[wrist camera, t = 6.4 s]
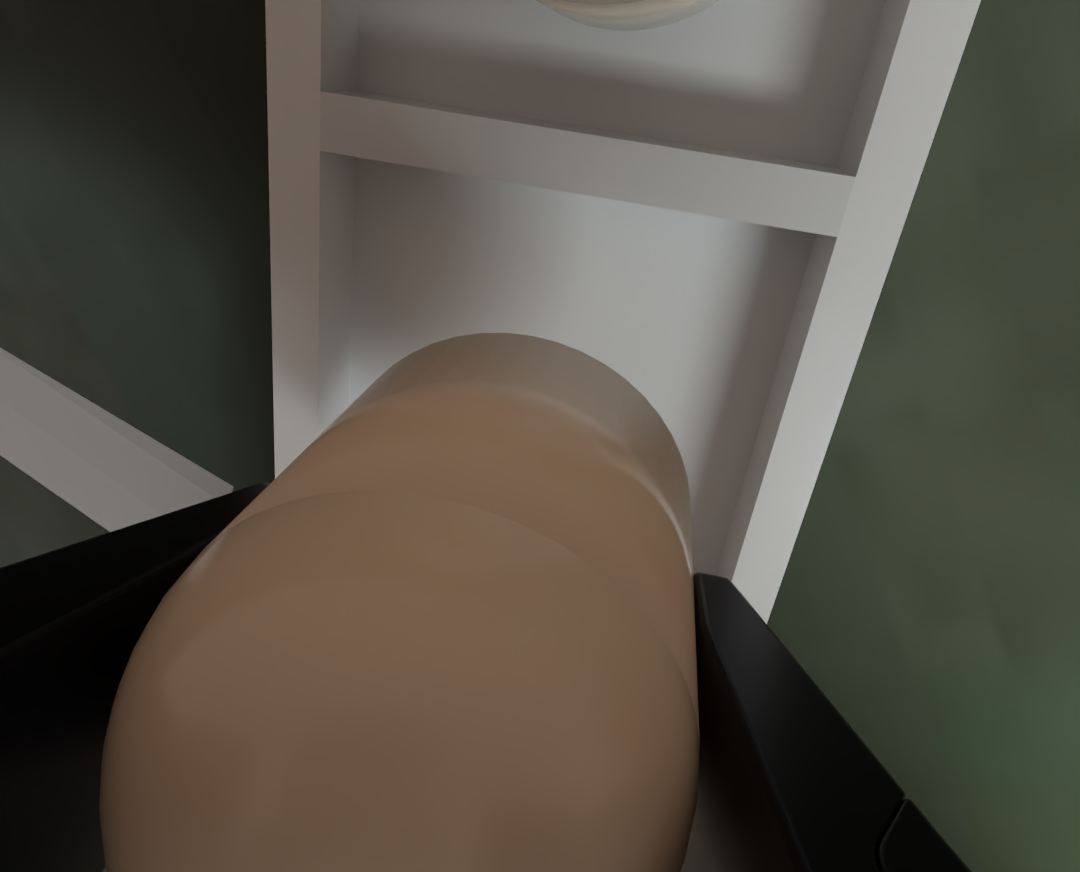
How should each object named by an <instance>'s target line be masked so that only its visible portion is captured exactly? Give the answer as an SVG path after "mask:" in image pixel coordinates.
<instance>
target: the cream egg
mask: <svg viewBox="0 0 1080 872" xmlns="http://www.w3.org/2000/svg"><path fill="white" fill-rule="evenodd" d="M536 1H538V2H540V3H541V4H543V5H544V6H546V7H548V8H550V9H551V10H553V11H555V12H557V13H558V14H560V15H562V16H564V17H566V18H568V19H571V20H574V21H576V22H579V23H581V24H584V25H588V26H592V27H597V28H601V29H606V30H620V31H633V30H646V29H652V28H657V27H661V26H666V25H670V24H673V23H675V22H678V21H681V20H683V19H686V18H689V17H691V16H693V15H695V14H697V13H699V12H701V11H703V10H705V9H706V8H708V7H710V6H712V5H714V4H715V3H716V2H718V1H719V0H536Z"/></svg>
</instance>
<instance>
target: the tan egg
mask: <svg viewBox="0 0 1080 872" xmlns="http://www.w3.org/2000/svg"><path fill="white" fill-rule="evenodd" d="M699 749H700V735H699V710H698V684H697V658H696V633H695V607H694V581H693V556H692V530H691V504H690V493H689V485H688V478H687V474H686V470H685V467H684V463H683V460H682V456H681V454H680V452H679V449H678V447H677V445H676V443H675V440H674V438H673V436H672V434H671V432H670V431H669V429H668V428H667V426H666V424H665V423H664V421H663V420H662V418H661V416H660V415H659V414H658V412H657V411H656V410H655V409H654V408H653V406H652V405H651V404H650V403H649V402H648V400H647V399H646V398H645V397H644V396H643V395H642V394H641V393H640V392H639V391H638V390H637V389H636V388H635V387H634V386H633V385H632V384H630V383H629V382H628V381H627V380H626V379H625V378H624V377H622V376H621V375H619V374H618V373H617V372H615V371H614V370H612V369H611V368H610V367H608V366H607V365H605V364H604V363H602V362H600V361H598V360H596V359H595V358H593V357H591V356H589V355H587V354H585V353H583V352H582V351H579V350H577V349H574V348H571V347H569V346H566V345H564V344H561V343H558V342H555V341H551V340H547V339H543V338H539V337H535V336H530V335H522V334H513V333H477V334H470V335H463V336H456V337H453V338H449V339H446V340H442V341H439V342H435V343H433V344H430V345H428V346H426V347H424V348H421V349H419V350H417V351H415V352H412V353H411V354H409V355H408V356H406V357H404V358H403V359H401V360H400V361H398V362H397V363H395V364H393V365H392V366H391V367H390V368H389V369H388V370H387V371H385V372H384V373H383V374H382V375H381V376H380V377H378V378H377V379H376V380H375V381H374V382H373V383H372V384H371V385H370V386H369V387H368V388H367V389H366V390H365V391H364V392H363V393H362V394H361V395H360V396H359V397H358V398H357V399H356V400H355V401H354V402H353V403H352V404H351V405H350V406H349V407H348V408H347V409H346V410H345V411H344V412H343V413H342V414H341V415H340V416H339V417H338V418H337V419H336V420H335V421H334V422H333V423H332V424H331V425H329V426H328V427H327V428H326V429H325V430H324V431H323V432H322V433H321V434H320V435H319V436H318V437H317V438H316V439H315V440H314V441H313V442H312V443H311V444H310V445H309V446H308V447H307V448H306V449H305V450H304V451H303V452H302V453H301V454H300V455H299V456H298V457H297V458H296V459H295V460H294V461H293V462H292V463H291V464H290V465H289V466H288V467H287V468H286V469H285V470H284V471H283V472H282V473H281V474H280V475H279V476H278V477H277V478H276V479H275V480H274V481H273V482H272V483H271V484H270V485H269V486H268V487H266V488H265V489H264V490H263V491H262V492H261V493H260V494H259V495H258V496H257V497H256V498H255V499H254V500H253V501H252V502H251V503H250V504H249V505H248V506H247V507H246V508H245V509H244V510H243V511H242V512H241V513H240V514H239V515H238V516H237V517H236V518H235V519H234V520H233V521H232V522H231V523H230V524H229V525H228V526H227V527H226V528H225V529H224V530H223V531H222V532H221V533H220V534H219V535H218V536H217V537H216V538H215V539H214V540H213V541H212V542H211V543H210V544H209V545H208V546H207V547H206V548H205V549H203V551H202V552H201V553H200V554H199V555H198V556H197V558H196V559H195V560H194V561H193V562H192V563H191V565H190V566H189V567H188V568H187V569H186V570H185V572H184V573H183V574H182V575H181V576H180V578H179V579H178V580H177V581H176V582H175V584H174V585H173V586H172V587H171V588H170V590H169V591H168V592H167V593H166V594H165V596H164V597H163V599H162V600H161V602H160V604H159V605H158V607H157V609H156V610H155V612H154V614H153V615H152V617H151V619H150V620H149V622H148V623H147V625H146V627H145V629H144V631H143V632H142V634H141V636H140V638H139V640H138V642H137V643H136V645H135V647H134V649H133V651H132V654H131V656H130V659H129V661H128V664H127V666H126V668H125V671H124V673H123V676H122V678H121V681H120V683H119V686H118V690H117V693H116V696H115V699H114V703H113V706H112V710H111V714H110V718H109V723H108V727H107V732H106V736H105V741H104V746H103V756H102V766H101V781H100V800H99V811H100V822H101V832H102V840H103V849H104V857H105V865H106V870H107V872H680V871H681V868H682V866H683V863H684V860H685V855H686V851H687V847H688V842H689V838H690V834H691V829H692V824H693V819H694V815H695V810H696V805H697V796H698V774H699Z"/></svg>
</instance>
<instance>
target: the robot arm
mask: <svg viewBox="0 0 1080 872" xmlns="http://www.w3.org/2000/svg"><path fill="white" fill-rule="evenodd" d="M269 485H270V483H259V484H256V485H253V486H250V487H247V488H244V489H241V490H238V491H235V492H232V493H229V494H226V495H223V496H219V497H216V498H213V499H210V500H207V501H204V502H201V503H198V504H195V505H192V506H189V507H186V508H183V509H180V510H177V511H173V512H170V513H167V514H164V515H161V516H158V517H155V518H152V519H149V520H146V521H143V522H140V523H137V524H134V525H131V526H127V527H124V528H121V529H118V530H115V531H112V532H109V533H106V534H103V535H100V536H97V537H94V538H91V539H88V540H84V541H81V542H78V543H75V544H72V545H69V546H66V547H63V548H60V549H57V550H54V551H51V552H48V553H45V554H42V555H38V556H35V557H32V558H29V559H26V560H23V561H20V562H17V563H14V564H11V565H8V566H5V567H2V568H0V872H103V870H104V869H105V867H106V865H105V857H104V849H103V840H102V832H101V822H100V811H99V800H100V781H101V766H102V756H103V746H104V741H105V736H106V732H107V727H108V723H109V718H110V714H111V710H112V706H113V703H114V699H115V696H116V693H117V690H118V686H119V683H120V681H121V678H122V676H123V673H124V671H125V668H126V666H127V664H128V661H129V659H130V656H131V654H132V651H133V649H134V647H135V645H136V643H137V642H138V640H139V638H140V636H141V634H142V632H143V631H144V629H145V627H146V625H147V623H148V622H149V620H150V619H151V617H152V615H153V614H154V612H155V610H156V609H157V607H158V605H159V604H160V602H161V600H162V599H163V597H164V596H165V594H166V593H167V592H168V591H169V590H170V588H171V587H172V586H173V585H174V584H175V582H176V581H177V580H178V579H179V578H180V576H181V575H182V574H183V573H184V572H185V570H186V569H187V568H188V567H189V566H190V565H191V563H192V562H193V561H194V560H195V559H196V558H197V556H198V555H199V554H200V553H201V552H202V551H203V549H205V548H206V547H207V546H208V545H209V544H210V543H211V542H212V541H213V540H214V539H215V538H216V537H217V536H218V535H219V534H220V533H221V532H222V531H223V530H224V529H225V528H226V527H227V526H228V525H229V524H230V523H231V522H232V521H233V520H234V519H235V518H236V517H237V516H238V515H239V514H240V513H241V512H242V511H243V510H244V509H245V508H246V507H247V506H248V505H249V504H250V503H251V502H252V501H253V500H254V499H255V498H256V497H257V496H258V495H259V494H260V493H261V492H262V491H263V490H264V489H265V488H266V487H268V486H269ZM693 581H694V607H695V633H696V658H697V684H698V710H699V735H700V749H699V774H698V796H697V805H696V810H695V815H694V819H693V824H692V829H691V834H690V838H689V842H688V847H687V851H686V855H685V860H684V863H683V866H682V868H681V871H680V872H971V870H970V869H969V868H968V867H967V866H966V865H965V863H964V862H963V861H962V860H961V859H960V858H959V856H958V855H957V854H956V853H955V852H954V851H953V849H952V848H951V847H950V846H949V845H948V844H947V842H946V841H945V840H944V839H943V838H942V837H941V835H940V834H939V833H938V832H937V831H936V830H935V828H934V827H933V826H932V825H931V823H930V822H929V821H928V820H927V819H926V817H925V816H924V815H923V814H922V812H921V811H920V810H919V809H918V808H917V806H916V805H915V804H914V803H913V802H912V801H911V800H910V799H905V792H904V791H903V790H902V789H901V787H900V786H899V785H898V784H897V782H896V781H895V780H894V779H893V778H892V776H891V775H890V774H889V773H888V771H887V770H886V769H885V768H884V767H883V765H882V764H881V763H880V762H879V761H878V759H877V758H876V757H875V756H874V754H873V753H872V752H871V751H870V750H869V748H868V747H867V746H866V745H865V743H864V742H863V741H862V740H861V739H860V737H859V736H858V735H857V734H856V733H855V731H854V730H853V729H852V728H851V726H850V725H849V724H848V723H847V722H846V720H845V719H844V718H843V717H842V715H841V714H840V713H839V712H838V711H837V709H836V708H835V707H834V706H833V704H832V703H831V702H830V701H829V700H828V698H827V697H826V696H825V695H824V694H823V692H822V691H821V690H820V689H819V687H818V686H817V685H816V684H815V683H814V681H813V680H812V679H811V678H810V676H809V675H808V674H807V673H806V672H805V670H804V669H803V668H802V667H801V666H800V664H799V663H798V662H797V661H796V659H795V658H794V657H793V656H792V655H791V653H790V652H789V651H788V650H787V648H786V647H785V646H784V645H783V644H782V642H781V641H780V640H779V639H778V637H777V636H776V635H775V634H774V633H773V631H772V630H771V629H770V628H769V627H768V625H767V624H766V623H765V622H764V620H763V619H762V618H761V617H760V616H759V614H758V613H757V612H756V611H755V609H754V608H753V607H752V606H751V605H750V603H749V602H748V601H747V600H746V598H745V597H744V596H743V595H742V594H741V592H740V591H739V590H738V589H737V588H736V586H735V585H734V584H733V583H732V582H731V581H730V580H729V579H728V578H725V577H720V576H715V575H710V574H705V573H700V572H697V573H695V574H694V575H693ZM904 799H905V800H904Z"/></svg>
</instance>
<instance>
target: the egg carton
mask: <svg viewBox="0 0 1080 872" xmlns="http://www.w3.org/2000/svg"><path fill="white" fill-rule="evenodd" d="M980 2H981V0H719V1H718V2H716V3H715V4H714V5H712V6H710V7H708V8H706V9H705V10H703V11H701V12H699V13H697V14H695V15H693V16H691V17H689V18H686V19H683V20H681V21H678V22H675V23H673V24H670V25H666V26H661V27H657V28H652V29H646V30H633V31H620V30H606V29H601V28H597V27H592V26H588V25H584V24H581V23H579V22H576V21H574V20H571V19H568V18H566V17H564V16H562V15H560V14H558V13H557V12H555V11H553V10H551V9H550V8H548V7H546V6H544V5H543V4H541V3H540V2H538V1H536V0H265V11H266V60H267V109H268V159H269V208H270V257H271V307H272V356H273V405H274V455H275V479H276V478H277V477H278V476H279V475H280V474H281V473H282V472H283V471H284V470H285V469H286V468H287V467H288V466H289V465H290V464H291V463H292V462H293V461H294V460H295V459H296V458H297V457H298V456H299V455H300V454H301V453H302V452H303V451H304V450H305V449H306V448H307V447H308V446H309V445H310V444H311V443H312V442H313V441H314V440H315V439H316V438H317V437H318V436H319V435H320V434H321V433H322V432H323V431H324V430H325V429H326V428H327V427H328V426H329V425H331V424H332V423H333V422H334V421H335V420H336V419H337V418H338V417H339V416H340V415H341V414H342V413H343V412H344V411H345V410H346V409H347V408H348V407H349V406H350V405H351V404H352V403H353V402H354V401H355V400H356V399H357V398H358V397H359V396H360V395H361V394H362V393H363V392H364V391H365V390H366V389H367V388H368V387H369V386H370V385H371V384H372V383H373V382H374V381H375V380H376V379H377V378H378V377H380V376H381V375H382V374H383V373H384V372H385V371H387V370H388V369H389V368H390V367H391V366H392V365H393V364H395V363H397V362H398V361H400V360H401V359H403V358H404V357H406V356H408V355H409V354H411V353H412V352H415V351H417V350H419V349H421V348H424V347H426V346H428V345H430V344H433V343H435V342H439V341H442V340H446V339H449V338H453V337H456V336H463V335H470V334H477V333H513V334H522V335H530V336H535V337H539V338H543V339H547V340H551V341H555V342H558V343H561V344H564V345H566V346H569V347H571V348H574V349H577V350H579V351H582V352H583V353H585V354H587V355H589V356H591V357H593V358H595V359H596V360H598V361H600V362H602V363H604V364H605V365H607V366H608V367H610V368H611V369H612V370H614V371H615V372H617V373H618V374H619V375H621V376H622V377H624V378H625V379H626V380H627V381H628V382H629V383H630V384H632V385H633V386H634V387H635V388H636V389H637V390H638V391H639V392H640V393H641V394H642V395H643V396H644V397H645V398H646V399H647V400H648V402H649V403H650V404H651V405H652V406H653V408H654V409H655V410H656V411H657V412H658V414H659V415H660V416H661V418H662V420H663V421H664V423H665V424H666V426H667V428H668V429H669V431H670V432H671V434H672V436H673V438H674V440H675V443H676V445H677V447H678V449H679V452H680V454H681V456H682V460H683V463H684V467H685V470H686V474H687V478H688V485H689V493H690V504H691V530H692V556H693V575H694V574H695V573H697V572H700V573H705V574H710V575H715V576H720V577H725V578H728V579H729V580H730V581H731V582H732V583H733V584H734V585H735V586H736V588H737V589H738V590H739V591H740V592H741V594H742V595H743V596H744V597H745V598H746V600H747V601H748V602H749V603H750V605H751V606H752V607H753V608H754V609H755V611H756V612H757V613H758V614H759V616H760V617H761V618H762V619H763V620H764V622H765V623H766V624H767V622H768V619H769V616H770V613H771V610H772V607H773V605H774V602H775V599H776V596H777V593H778V590H779V587H780V584H781V581H782V578H783V575H784V572H785V570H786V567H787V564H788V561H789V558H790V555H791V552H792V549H793V546H794V543H795V540H796V538H797V535H798V532H799V529H800V526H801V523H802V520H803V517H804V514H805V511H806V508H807V505H808V503H809V500H810V497H811V494H812V491H813V488H814V485H815V482H816V479H817V476H818V473H819V471H820V468H821V465H822V462H823V459H824V456H825V453H826V450H827V447H828V444H829V441H830V438H831V436H832V433H833V430H834V427H835V424H836V421H837V418H838V415H839V412H840V409H841V406H842V404H843V401H844V398H845V395H846V392H847V389H848V386H849V383H850V380H851V377H852V374H853V371H854V369H855V366H856V363H857V360H858V357H859V354H860V351H861V348H862V345H863V342H864V339H865V337H866V334H867V331H868V328H869V325H870V322H871V319H872V316H873V313H874V310H875V307H876V304H877V302H878V299H879V296H880V293H881V290H882V287H883V284H884V281H885V278H886V275H887V272H888V270H889V267H890V264H891V261H892V258H893V255H894V252H895V249H896V246H897V243H898V240H899V237H900V235H901V232H902V229H903V226H904V223H905V220H906V217H907V214H908V211H909V208H910V205H911V203H912V200H913V197H914V194H915V191H916V188H917V185H918V182H919V179H920V176H921V173H922V170H923V168H924V165H925V162H926V159H927V156H928V153H929V150H930V147H931V144H932V141H933V138H934V136H935V133H936V130H937V127H938V124H939V121H940V118H941V115H942V112H943V109H944V106H945V103H946V101H947V98H948V95H949V92H950V89H951V86H952V83H953V80H954V77H955V74H956V71H957V69H958V66H959V63H960V60H961V57H962V54H963V51H964V48H965V45H966V42H967V39H968V36H969V34H970V31H971V28H972V25H973V22H974V19H975V16H976V13H977V10H978V7H979V4H980Z"/></svg>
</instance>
